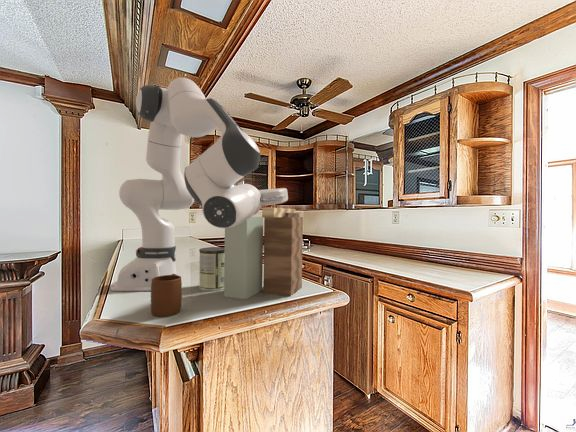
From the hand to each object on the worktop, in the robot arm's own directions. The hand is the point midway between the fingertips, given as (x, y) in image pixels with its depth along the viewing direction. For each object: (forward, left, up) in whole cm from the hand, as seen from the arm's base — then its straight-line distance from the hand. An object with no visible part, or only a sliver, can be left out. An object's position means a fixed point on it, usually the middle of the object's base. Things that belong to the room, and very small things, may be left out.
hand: (259, 194), depth 87 cm
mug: (-25, -2, -33) cm, 42 cm away
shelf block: (-3, +10, -33) cm, 35 cm away
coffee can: (-13, +20, -33) cm, 41 cm away
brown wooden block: (+11, +11, -33) cm, 36 cm away
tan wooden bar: (+9, +7, -7) cm, 13 cm away
